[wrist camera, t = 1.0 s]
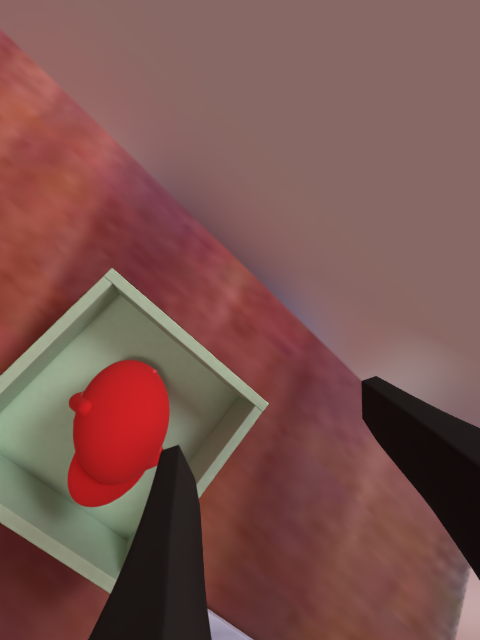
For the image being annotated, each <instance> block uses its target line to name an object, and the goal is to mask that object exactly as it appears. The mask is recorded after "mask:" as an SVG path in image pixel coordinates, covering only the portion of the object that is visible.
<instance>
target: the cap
mask: <svg viewBox="0 0 480 640" xmlns="http://www.w3.org/2000/svg"><path fill="white" fill-rule="evenodd" d="M69 407H70V408H71V409H72V410H73V411H74V412H75V417H74V420H73V442H74V448H75V454H74V456H73V458H72V461H71V463H70V467H69V471H68V478H67V484H68V490H69V493H70V495H71V497H72V498H73V500H74V501H75V502H76V503H78V504H80V505H82V506H85V507H99V506H103V505H106V504H109V503H111V502H113V501H115V500H116V499H118V498H120V497H121V496H123V495H124V494H125V493H126V492H128V491H129V490H130V489H131V488H132V487H133V486H134V485H135V484H136V483H137V482H138V481H139V479H140V478H141V477H142V475H143V474H144V473H145V471H146V470H148V469H151V468H153V467H155V466H157V465H158V461H159V457H160V453H161V451H162V450H164V449H163V447H162V445H163V442H164V439H165V437H166V433H167V429H168V424H169V415H170V408H169V398H168V394H167V390H166V387H165V385H164V383H163V381H162V379H161V377H160V376H159V375H158V373H157V370H156V369H153V368H152V367H150V366H149V365H147V364H145V363H143V362H140V361H137V360H123V361H119V362H116V363H113V364H111V365H109V366H108V367H106V368H104V369H103V370H102V371H101V372H99V373H98V374H97V375H96V376H95V377H94V378H93V379H92V381H91V382H90V383H89V385H88V386H87V387H86V389H85V390H84V391H83V392H79V393H76V394H74V395H73V396H71V398H70V399H69Z"/></svg>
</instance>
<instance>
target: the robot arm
mask: <svg viewBox="0 0 480 640" xmlns="http://www.w3.org/2000/svg"><path fill="white" fill-rule="evenodd" d="M362 418H363V420H364V422H365V423H366V425H367V426H368V428H369V430H370V431H371V433H372V434H373V436H374V437H375V439H376V440H377V442H378V443H379V444H380V446H381V447H382V448H383V449H384V451H385V452H386V453H387V454H388V455H389V457H390V458H391V459H392V460H393V462H394V463H395V464H396V465H397V466H398V468H399V469H400V470H401V471H402V473H403V474H404V475H405V476H406V477H407V479H408V480H409V481H410V482H411V483H412V485H413V486H414V487H415V488H416V490H417V491H418V492H419V493H420V494H421V496H422V497H423V498H424V499H425V501H426V502H427V503H428V505H429V506H430V507H431V509H432V510H433V511H434V513H435V514H436V516H437V517H438V519H439V520H440V522H441V523H442V524H443V526H444V527H445V529H446V530H447V532H448V533H449V535H450V536H451V537H452V539H453V540H454V542H455V543H456V545H457V546H458V548H459V549H460V551H461V552H462V554H463V555H464V557H465V558H466V560H467V561H468V563H469V564H470V566H471V567H472V569H473V571H474V572H475V574H476V575H477V577H478V578H479V580H480V428H478V427H476V426H474V425H471V424H469V423H467V422H465V421H463V420H460V419H458V418H456V417H454V416H452V415H450V414H448V413H446V412H443V411H441V410H439V409H437V408H435V407H433V406H431V405H429V404H427V403H425V402H424V401H422V400H420V399H418V398H416V397H414V396H412V395H410V394H408V393H407V392H405V391H403V390H401V389H399V388H397V387H395V386H393V385H392V384H390V383H388V382H386V381H384V380H382V379H381V378H379V377H377V376H375V377H372V378H369V379H366V380H363V381H362ZM88 640H253V639H252V638H250V637H249V636H247V635H246V634H244V633H243V632H241V631H240V630H238V629H237V628H235V627H234V626H233V625H231V624H230V623H228V622H227V621H225V620H224V619H222V618H221V617H219V616H218V615H216V614H215V613H213V612H212V611H210V610H209V609H208V608H207V602H206V592H205V580H204V563H203V546H202V530H201V514H200V504H199V498H198V492H197V486H196V480H195V477H194V475H193V473H192V471H191V469H190V467H189V465H188V462H187V460H186V458H185V456H184V454H183V452H182V450H181V448H180V446H179V445H176V446H173V447H170V448H167V449H164V450H162V451H161V453H160V457H159V461H158V465H157V469H156V472H155V476H154V479H153V483H152V486H151V490H150V493H149V496H148V499H147V502H146V505H145V508H144V511H143V514H142V517H141V520H140V523H139V526H138V528H137V531H136V534H135V536H134V539H133V541H132V544H131V547H130V549H129V552H128V554H127V557H126V559H125V562H124V564H123V567H122V569H121V571H120V574H119V576H118V578H117V580H116V583H115V585H114V587H113V589H112V592H111V594H110V596H109V598H108V600H107V602H106V604H105V606H104V608H103V611H102V613H101V615H100V617H99V619H98V621H97V623H96V625H95V627H94V629H93V631H92V633H91V635H90V637H89V639H88Z"/></svg>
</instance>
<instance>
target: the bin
mask: <svg viewBox="0 0 480 640" xmlns="http://www.w3.org/2000/svg"><path fill="white" fill-rule="evenodd" d="M123 360H137V361H140V362H143V363H145V364H147V365H149V366H150V367H152V368H153V369H156V370H157V373H158V375H159V376H160V377H161V379H162V381H163V383H164V385H165V387H166V390H167V394H168V398H169V408H170V415H169V424H168V429H167V433H166V437H165V439H164V442H163V445H162V447H163V449H167V448H170V447H173V446H176V445H179V446H180V448H181V450H182V452H183V454H184V456H185V458H186V460H187V462H188V465H189V467H190V469H191V471H192V473H193V475H194V477H195V480H196V486H197V492H198V498H199V497H200V496H201V495H202V493H203V492H204V491H205V489H206V488H207V486H208V485H209V484H210V482H211V481H212V480H213V478H214V477H215V476H216V474H217V473H218V472H219V470H220V469H221V468H222V466H223V465H224V463H225V462H226V461H227V459H228V458H229V457H230V455H231V454H232V453H233V451H234V450H235V449H236V447H237V446H238V445H239V443H240V442H241V440H242V439H243V438H244V436H245V435H246V434H247V432H248V431H249V430H250V428H251V427H252V426H253V424H254V423H255V421H256V420H257V419H258V417H259V416H260V415H261V413H262V412H263V411H264V409H265V408H266V407H267V405H268V403H267V402H266V401H265V400H264V399H263V398H262V397H261V396H259V395H258V394H257V393H256V392H255V391H254V390H252V389H251V388H250V387H249V386H248V385H247V384H246V383H244V382H243V381H242V380H241V379H240V378H239V377H237V376H236V375H235V374H234V373H233V372H232V371H230V370H229V369H228V368H227V367H226V366H225V365H224V364H222V363H221V362H220V361H219V360H218V359H217V358H215V357H214V356H213V355H212V354H211V353H210V352H209V351H207V350H206V349H205V348H204V347H203V346H202V345H200V344H199V343H198V342H197V341H196V340H195V339H194V338H192V337H191V336H190V335H189V334H188V333H187V332H185V331H184V330H183V329H182V328H181V327H180V326H178V325H177V324H176V323H175V322H174V321H173V320H172V319H170V318H169V317H168V316H167V315H166V314H165V313H163V312H162V311H161V310H160V309H159V308H158V307H157V306H155V305H154V304H153V303H152V302H151V301H150V300H148V299H147V298H146V297H145V296H144V295H143V294H142V293H140V292H139V291H138V290H137V289H136V288H135V287H133V286H132V285H131V284H130V283H129V282H128V281H126V280H125V279H124V278H123V277H122V276H121V275H120V274H118V273H117V272H116V271H115V270H114V269H113V268H111V269H110V270H109V271H108V272H107V273H106V274H105V275H104V277H102V278H101V279H100V280H99V281H98V282H97V283H96V284H95V285H94V286H93V287H92V288H91V289H90V290H89V291H88V292H86V293H85V294H84V295H83V296H82V297H81V298H80V299H79V300H78V301H77V302H76V303H75V304H74V305H73V306H72V307H71V308H70V309H69V310H68V311H67V312H66V313H65V314H64V315H63V316H62V317H61V318H60V319H59V320H57V321H56V322H55V323H54V324H53V325H52V326H51V327H50V328H49V329H48V330H47V331H46V332H45V333H44V334H43V335H42V336H41V337H40V338H39V339H38V340H37V341H36V342H35V343H34V344H33V345H32V346H31V347H30V348H29V349H27V350H26V351H25V352H24V353H23V354H22V355H21V356H20V357H19V358H18V359H17V360H16V361H15V362H14V363H13V364H12V365H11V366H10V367H9V368H8V369H7V370H6V371H5V372H4V373H3V374H2V375H1V376H0V523H2V524H3V525H5V526H6V527H8V528H9V529H11V530H12V531H14V532H16V533H17V534H19V535H20V536H22V537H23V538H25V539H26V540H28V541H29V542H31V543H33V544H34V545H36V546H37V547H39V548H40V549H42V550H43V551H45V552H47V553H48V554H50V555H51V556H53V557H54V558H56V559H57V560H59V561H60V562H62V563H64V564H65V565H67V566H68V567H70V568H71V569H73V570H74V571H76V572H77V573H79V574H81V575H82V576H84V577H85V578H87V579H88V580H90V581H91V582H93V583H95V584H96V585H98V586H99V587H101V588H102V589H104V590H105V591H107V592H108V593H110V594H111V592H112V589H113V587H114V585H115V583H116V580H117V578H118V576H119V574H120V571H121V569H122V567H123V564H124V562H125V559H126V557H127V554H128V552H129V549H130V547H131V544H132V541H133V539H134V536H135V534H136V531H137V528H138V526H139V523H140V520H141V517H142V514H143V511H144V508H145V505H146V502H147V499H148V496H149V493H150V490H151V486H152V483H153V479H154V476H155V472H156V469H157V466H155V467H153V468H151V469H148V470H146V471H145V473H144V474H143V475H142V477H141V478H140V479H139V481H138V482H137V483H136V484H135V485H134V486H133V487H132V488H131V489H130V490H129V491H128V492H126V493H125V494H124V495H123V496H121V497H120V498H118V499H116V500H115V501H113V502H111V503H109V504H106V505H103V506H99V507H85V506H82V505H80V504H78V503H76V502H75V501H74V500H73V498H72V497H71V495H70V493H69V490H68V484H67V478H68V471H69V467H70V463H71V461H72V458H73V456H74V454H75V448H74V442H73V420H74V417H75V412H74V411H73V410H72V409H71V408H70V407H69V399H70V398H71V396H73V395H74V394H76V393H79V392H83V391H84V390H85V389H86V387H87V386H88V385H89V383H90V382H91V381H92V379H93V378H94V377H95V376H96V375H97V374H98V373H99V372H101V371H102V370H103V369H104V368H106V367H108V366H109V365H111V364H113V363H116V362H119V361H123Z"/></svg>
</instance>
